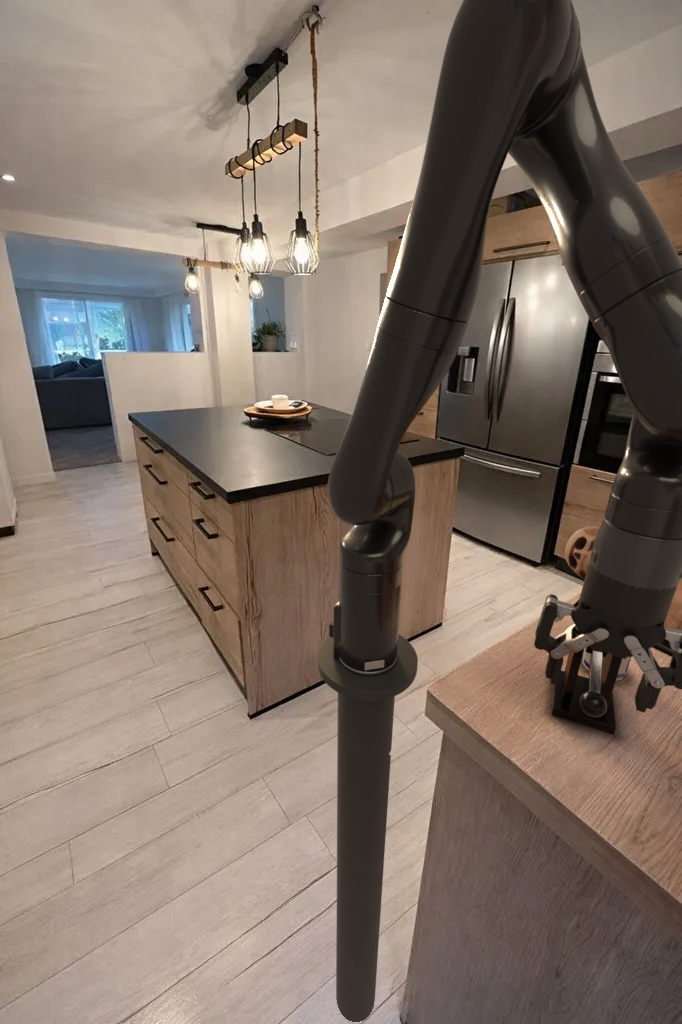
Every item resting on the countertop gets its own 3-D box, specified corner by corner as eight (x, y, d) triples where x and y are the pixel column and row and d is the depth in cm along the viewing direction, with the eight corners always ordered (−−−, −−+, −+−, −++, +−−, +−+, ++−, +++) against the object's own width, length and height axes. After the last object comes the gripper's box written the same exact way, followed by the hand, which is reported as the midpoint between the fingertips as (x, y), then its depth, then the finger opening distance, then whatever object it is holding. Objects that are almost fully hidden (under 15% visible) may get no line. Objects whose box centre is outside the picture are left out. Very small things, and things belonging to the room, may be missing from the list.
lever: (603, 724, 50) (609, 717, 48) (576, 715, 51) (580, 708, 49) (608, 638, 56) (614, 628, 54) (584, 632, 57) (588, 622, 55)
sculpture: (644, 650, 66) (545, 559, 94) (726, 657, 68) (605, 565, 96) (671, 593, 63) (560, 516, 91) (757, 603, 65) (622, 524, 93)
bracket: (614, 735, 54) (638, 656, 49) (551, 714, 56) (569, 638, 52) (609, 691, 60) (630, 619, 56) (553, 675, 63) (569, 605, 59)
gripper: (712, 566, 44) (664, 692, 50) (555, 537, 49) (529, 653, 55) (735, 604, 37) (677, 743, 43) (553, 565, 43) (524, 693, 49)
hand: (594, 692), depth 49 cm, fingers open, 8 cm apart
